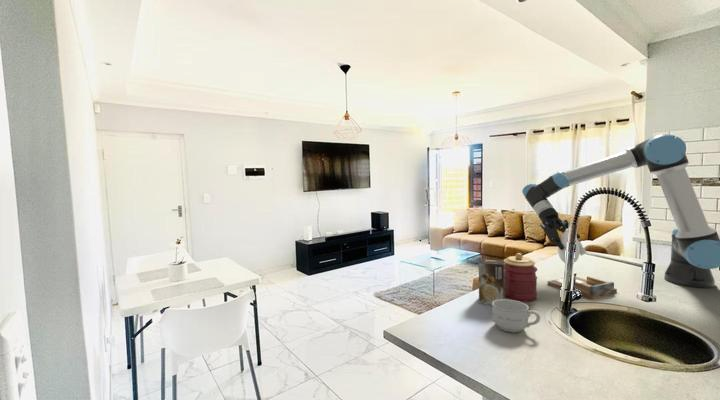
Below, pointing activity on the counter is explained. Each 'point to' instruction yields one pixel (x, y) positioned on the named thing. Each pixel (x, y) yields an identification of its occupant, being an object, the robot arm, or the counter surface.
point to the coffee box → (491, 280)
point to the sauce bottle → (564, 239)
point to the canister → (520, 278)
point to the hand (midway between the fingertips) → (576, 254)
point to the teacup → (512, 315)
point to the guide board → (589, 287)
